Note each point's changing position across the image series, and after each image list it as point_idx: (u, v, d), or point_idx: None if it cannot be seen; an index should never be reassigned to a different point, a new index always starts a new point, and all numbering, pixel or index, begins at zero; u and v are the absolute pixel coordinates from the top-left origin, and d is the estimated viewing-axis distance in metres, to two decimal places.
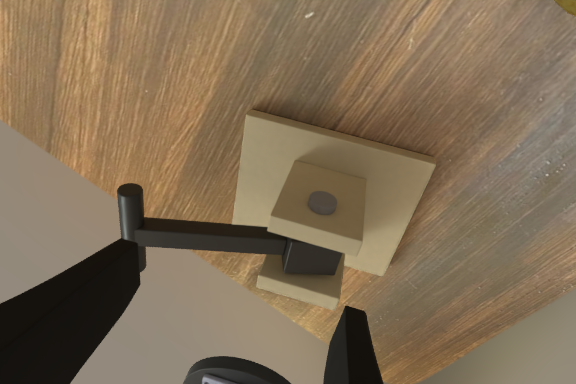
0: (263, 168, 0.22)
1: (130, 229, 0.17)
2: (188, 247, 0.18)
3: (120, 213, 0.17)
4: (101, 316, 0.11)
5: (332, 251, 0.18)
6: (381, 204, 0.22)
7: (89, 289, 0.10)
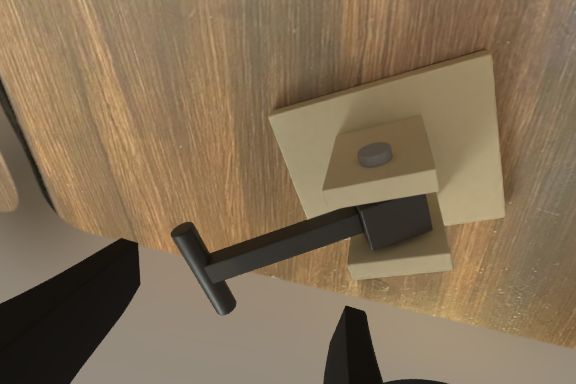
0: (311, 161, 0.21)
1: (200, 268, 0.17)
2: (262, 264, 0.17)
3: (183, 256, 0.16)
4: (101, 316, 0.11)
5: (413, 201, 0.15)
6: (454, 133, 0.18)
7: (89, 289, 0.10)
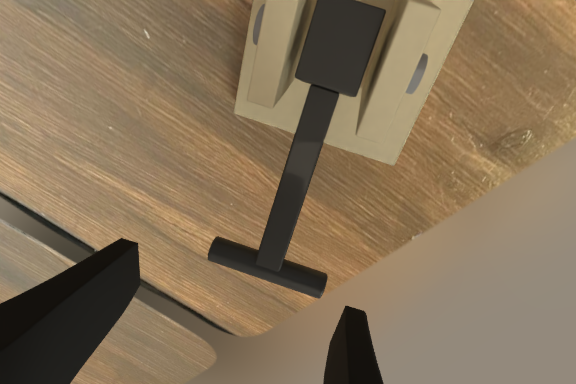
0: (296, 105, 0.19)
1: (255, 267, 0.15)
2: (294, 215, 0.14)
3: (233, 268, 0.15)
4: (101, 316, 0.11)
5: (327, 12, 0.12)
6: None
7: (89, 289, 0.10)
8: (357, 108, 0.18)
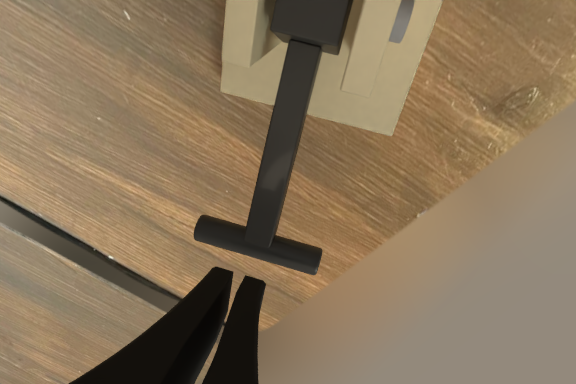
0: None
1: (244, 245, 0.14)
2: (281, 185, 0.13)
3: (221, 247, 0.14)
4: (203, 349, 0.11)
5: None
6: None
7: (202, 324, 0.10)
8: None
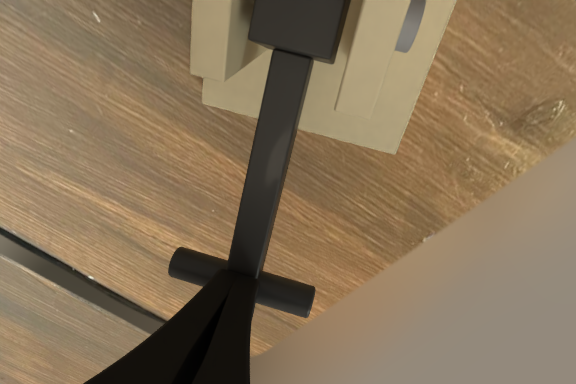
0: None
1: None
2: (266, 218, 0.11)
3: (200, 285, 0.13)
4: None
5: None
6: None
7: (209, 327, 0.10)
8: None
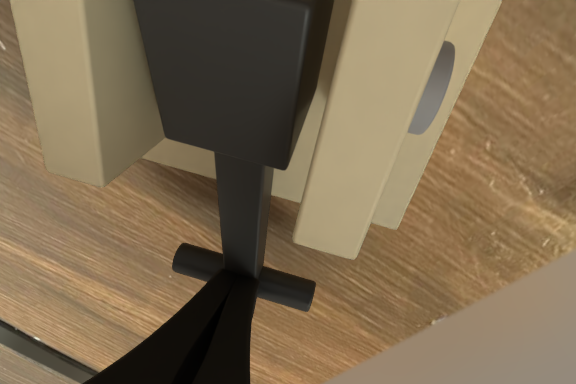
0: None
1: None
2: (251, 257, 0.10)
3: None
4: None
5: (165, 22, 0.04)
6: None
7: (208, 326, 0.10)
8: None
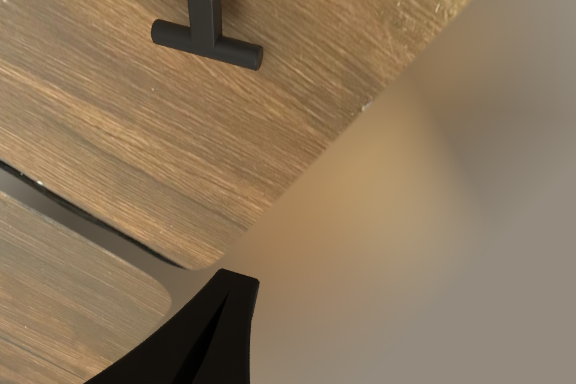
0: None
1: (194, 47, 0.16)
2: None
3: (177, 49, 0.17)
4: None
5: None
6: None
7: (209, 327, 0.10)
8: None
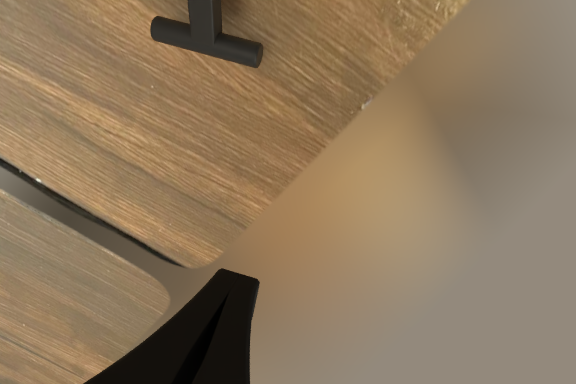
0: None
1: (194, 44, 0.16)
2: None
3: (177, 46, 0.17)
4: None
5: None
6: None
7: (209, 327, 0.10)
8: None
